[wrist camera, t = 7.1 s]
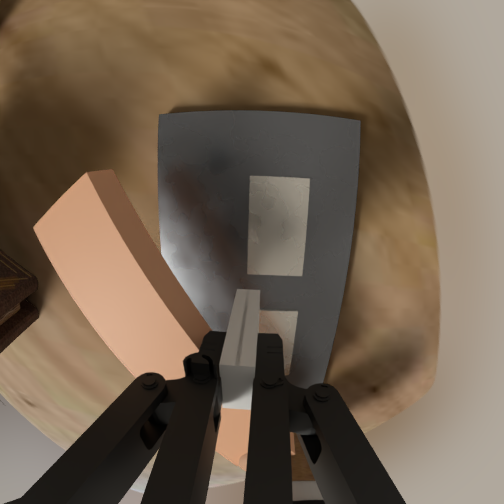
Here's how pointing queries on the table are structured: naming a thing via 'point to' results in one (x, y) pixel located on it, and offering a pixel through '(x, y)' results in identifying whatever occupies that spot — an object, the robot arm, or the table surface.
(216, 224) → the plate
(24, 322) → the book
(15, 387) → the table surface
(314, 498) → the coffee cup
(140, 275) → the cable arm
